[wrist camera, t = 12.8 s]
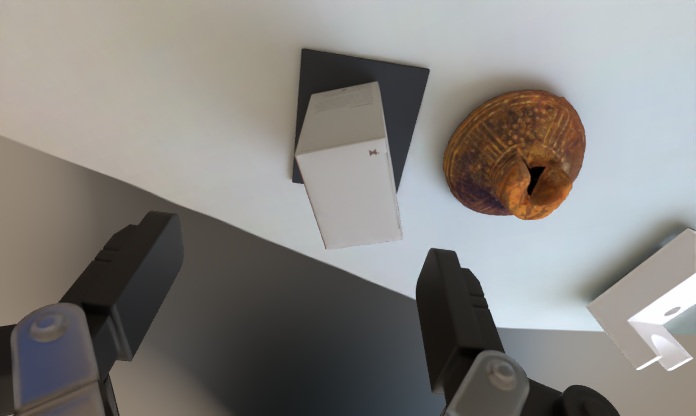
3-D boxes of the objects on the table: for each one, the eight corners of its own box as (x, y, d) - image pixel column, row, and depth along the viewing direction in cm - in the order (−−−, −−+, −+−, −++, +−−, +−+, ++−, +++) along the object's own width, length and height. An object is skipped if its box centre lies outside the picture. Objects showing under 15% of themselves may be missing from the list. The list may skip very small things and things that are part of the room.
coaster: (292, 180, 36) (292, 182, 35) (302, 48, 29) (301, 49, 28) (395, 194, 36) (395, 197, 36) (429, 69, 29) (430, 70, 29)
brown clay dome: (415, 174, 35) (427, 221, 29) (508, 58, 29) (546, 88, 23) (509, 225, 38) (537, 277, 32) (611, 130, 32) (668, 173, 26)
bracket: (620, 311, 46) (671, 370, 41) (585, 306, 43) (635, 369, 38) (720, 240, 39) (798, 299, 34) (687, 228, 36) (767, 291, 31)
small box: (310, 92, 30) (291, 151, 22) (379, 78, 29) (386, 134, 21) (332, 176, 35) (324, 253, 26) (392, 166, 34) (403, 242, 25)
